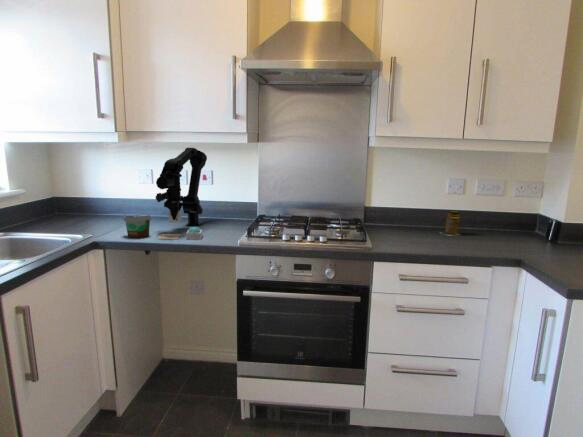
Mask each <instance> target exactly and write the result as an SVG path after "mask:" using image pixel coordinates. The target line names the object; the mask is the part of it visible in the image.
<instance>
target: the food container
mask: <svg viewBox="0 0 583 437" xmlns="http://www.w3.org/2000/svg"><path fill="white" fill-rule="evenodd" d="M151 220H152V217H151V215H150V214H148V215H143V216H142V215H130V216H129V215H126V214H124V216H123V221H124V222H125V227H126V231H127V232H126V233H127V234H126V235H127V237H128V238H129V239H141V238H142V239H143V238H146V237H147V238H148V237H149V236H150V225H151V224H150V222H151Z"/></svg>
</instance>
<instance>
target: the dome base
mask: <svg viewBox="0 0 583 437" xmlns="http://www.w3.org/2000/svg"><path fill="white" fill-rule="evenodd" d="M185 234H186V236H185V238H186V240H201V239H202V238H203V229H199V233H189V229H187V231H186V233H185Z"/></svg>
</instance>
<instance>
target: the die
mask: <svg viewBox="0 0 583 437" xmlns="http://www.w3.org/2000/svg"><path fill="white" fill-rule="evenodd" d="M181 221H182V209H181V210H178V214H177V217H176V219H175V220H173V218H172V215H171V212H170V210H169V211H168V222H169V223H180V222H181Z"/></svg>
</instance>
